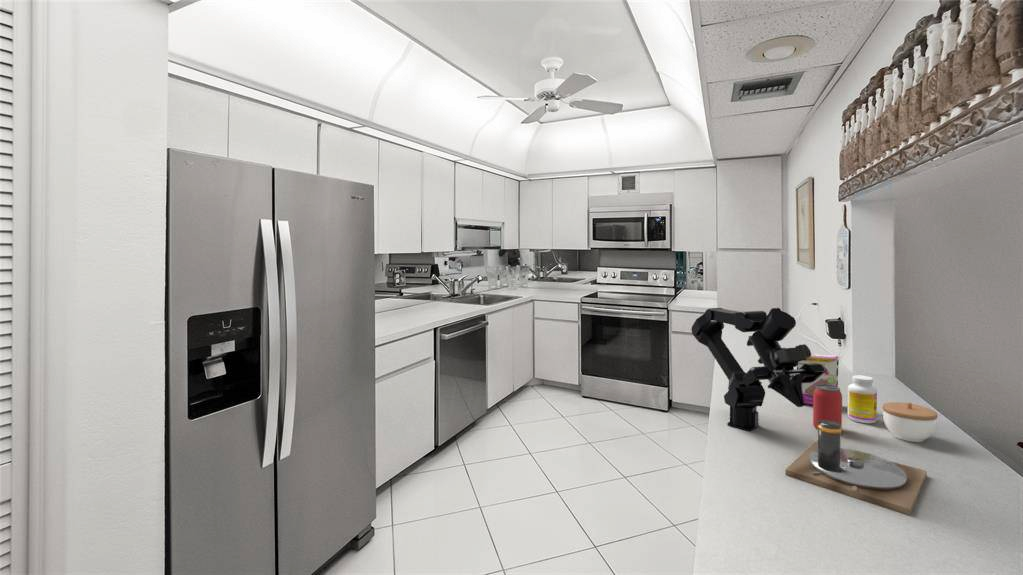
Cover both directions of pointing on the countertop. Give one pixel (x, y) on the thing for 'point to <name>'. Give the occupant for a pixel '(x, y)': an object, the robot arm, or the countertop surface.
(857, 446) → the countertop surface
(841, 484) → the base plate
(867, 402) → the supplement bottle
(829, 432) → the dial
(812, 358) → the candy bar box
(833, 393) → the beer can
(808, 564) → the countertop surface
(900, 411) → the lidded jar
